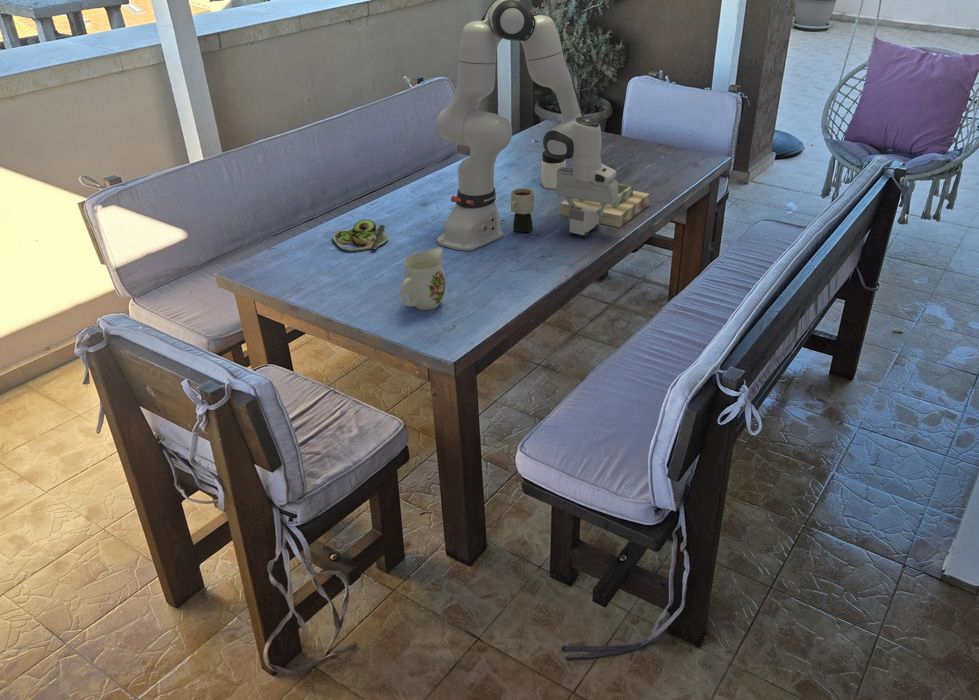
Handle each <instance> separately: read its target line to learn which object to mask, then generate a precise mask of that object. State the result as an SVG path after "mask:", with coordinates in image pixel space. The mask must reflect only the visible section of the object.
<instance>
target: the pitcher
mask: <svg viewBox="0 0 979 700" xmlns="http://www.w3.org/2000/svg"><path fill="white" fill-rule="evenodd" d="M442 252H443V248H442V247H435V248H431V249H428V250H425V251H420V252H416V253H413V254H411V255H409V256H407V257H406V258H405V259H404V260H403V265H404V269H405V274H404V280H403V281H402V283H401V286H400V297H401V300H402V303H403V304H404V305H405V306H407V307H415V309H418V310H422V311H430V310H434V309H436V308H438V307H439V305H440V304H441V303H442V300H443V299H444V295H445V291H446V277H445V272H444V270H443V268H442V267H443V256H442ZM407 298H408V299H407Z"/></svg>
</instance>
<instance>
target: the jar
mask: <svg viewBox="0 0 979 700" xmlns="http://www.w3.org/2000/svg"><path fill="white" fill-rule="evenodd" d="M541 154H542V155H541V161H540V163H541V167H540V168H541V169H540V170H541V174H540V175H541V178H540V179H541V180H540V181H541V182H540V183H541V185H542V186H543V187H544V188H545V189H552V190H556V184H557V170H558V169H559V168H561V167H565V168H567V161H566V159H554V158H552V157H550V156H549V155H548V154H547V153H546V151H545V150H544V151H542V153H541ZM560 170H561V169H560Z"/></svg>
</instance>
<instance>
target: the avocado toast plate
mask: <svg viewBox="0 0 979 700" xmlns="http://www.w3.org/2000/svg"><path fill="white" fill-rule="evenodd" d="M384 231H385V225H383V224H380V225H377V224H376V223H375V222H374V221H373V220H372V219H362V220H359V221H356V222H355V223H354V224H353V227H352V228H347V229H340V230H338V231H336V232H335V233H333V235H332V236H331V237H332V242H333V243H335V244H336V246H337V247H339V248H340V249H341V250H343V251H346V252H351V253H352V252H353V253H358V252H364V251H368V250H376V249H377V248H378V247H380V246H382V245H384V244H386V242H388V240H389V236H388V235H387V233H385V232H384ZM344 245H357V248H355V247H353V248H352V247H346V246H344Z"/></svg>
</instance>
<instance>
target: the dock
mask: <svg viewBox="0 0 979 700" xmlns="http://www.w3.org/2000/svg"><path fill="white" fill-rule="evenodd" d="M572 200H573V202H574V204H576V210H581V209H582V208H584V207H589V208H594V209H599V208H601V207H602V206H600V203H597V202H591V201H585V200H580V199H574V198H573V199H572ZM649 205H650V193H647V192H642V191H637V190H634V186H633V185H627V184H623V183H618V200H617V201H616V202H615V203H614V204H613V205H608V204H607V205H606V207H605V208H604V213H603V215H602V216H599V224H602V225H606V226H612V227H616V228H621V227H622V226H623V225H625V224H626V223H627V222H629V221H630V220H631V219H633V218H634V217H635V216H636V215H638V214H639V213H640V212H642V211H643V210H644V209H646V208H647V207H648V206H649ZM569 209H570V205H569V203H568V202H567V198H566V199H565V200H563V201H562V202H560V203H559V215H560V216H565V217H569Z"/></svg>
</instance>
